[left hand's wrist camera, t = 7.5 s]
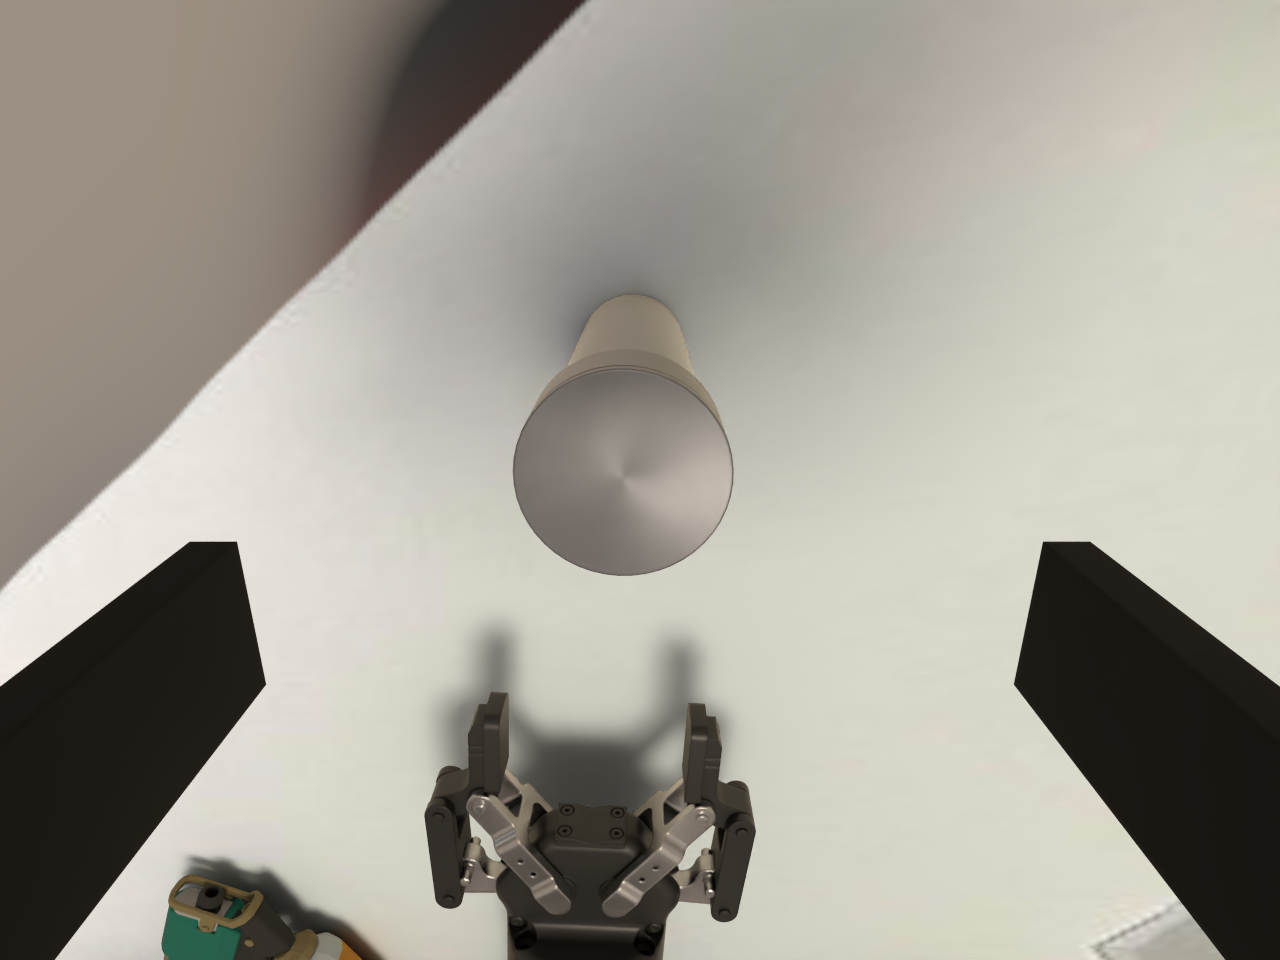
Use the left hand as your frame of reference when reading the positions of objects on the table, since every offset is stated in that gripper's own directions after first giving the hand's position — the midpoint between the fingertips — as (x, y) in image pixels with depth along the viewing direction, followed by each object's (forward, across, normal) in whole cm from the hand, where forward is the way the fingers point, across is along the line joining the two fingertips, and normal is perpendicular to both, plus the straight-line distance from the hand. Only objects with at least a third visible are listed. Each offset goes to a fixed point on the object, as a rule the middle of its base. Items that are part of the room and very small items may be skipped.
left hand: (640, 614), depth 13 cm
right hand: (+16, +2, +14) cm, 21 cm away
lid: (+6, 0, 0) cm, 6 cm away
